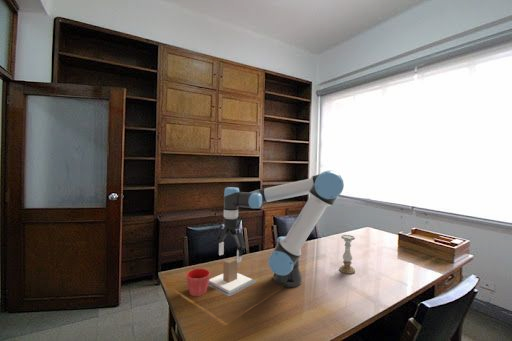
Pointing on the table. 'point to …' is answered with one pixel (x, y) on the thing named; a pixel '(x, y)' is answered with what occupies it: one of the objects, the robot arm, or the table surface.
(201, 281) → the flower pot
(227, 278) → the lid
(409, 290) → the table surface
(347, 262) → the candle holder
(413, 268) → the table surface
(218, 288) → the mat
